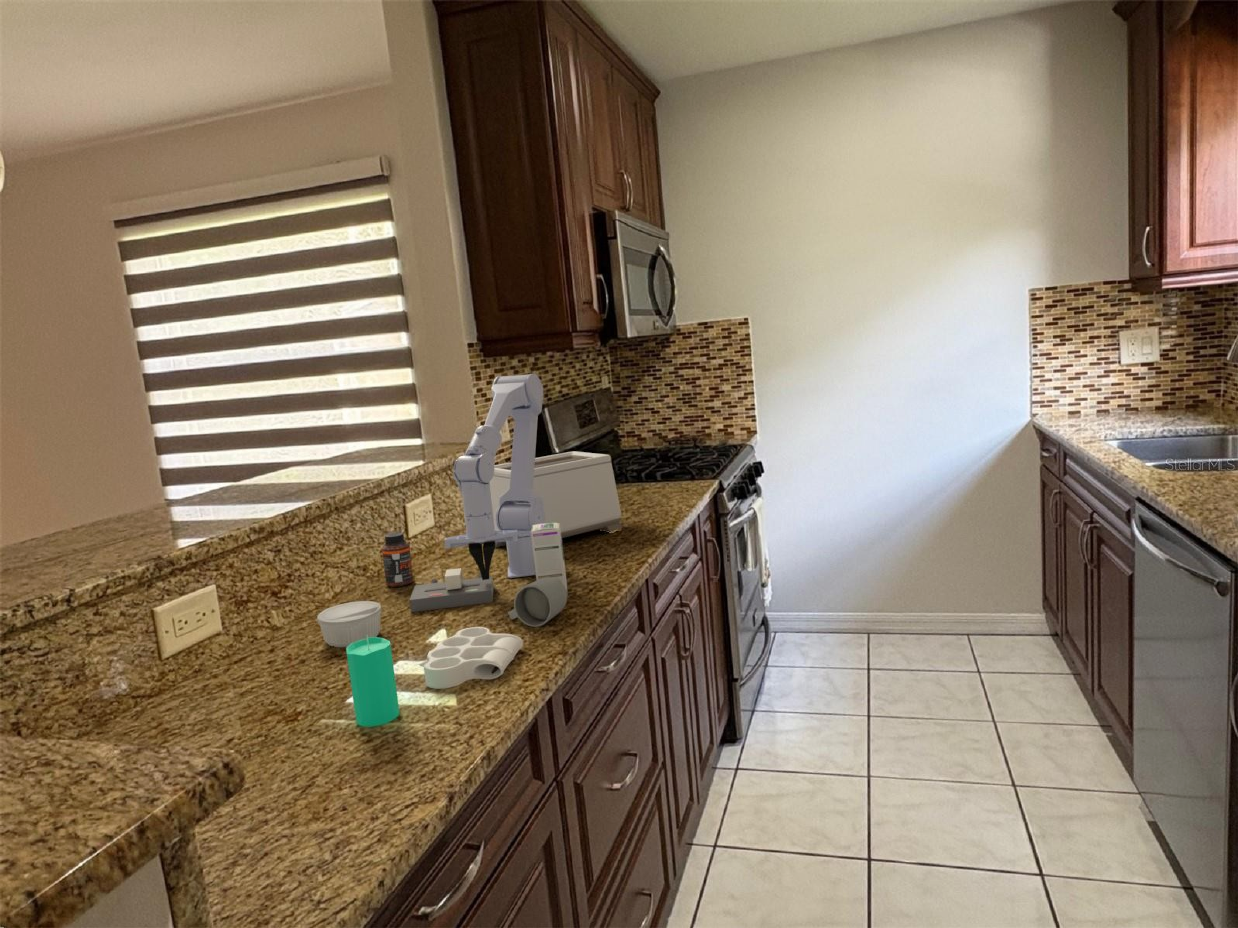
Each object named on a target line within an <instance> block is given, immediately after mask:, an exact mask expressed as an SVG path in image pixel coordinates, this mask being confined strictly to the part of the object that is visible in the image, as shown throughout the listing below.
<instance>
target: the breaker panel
mask: <svg viewBox="0 0 1238 928" xmlns="http://www.w3.org/2000/svg"><path fill="white" fill-rule="evenodd" d="M494 586H495V585H494V578H493V576H490V575H489V579H487V580H482V576H481V573H480V572H479V573H478V574H477V577H475V578H467V579H463V583H462V587H461V588H459V589H450V590H446V584H445V581H441V582H438V579H437V578H432V580H431V582H430V583H423V584H416V585H414V588H413V589H412V593H411V595H410V598H409V607H410V613H415V612H423V611H432V610H438V609H439V610H441V609H448V608H455V607H465V606H472V605H480V604H481V605H482V604H489V603H490V604H491V603H493V601H494V590H495V589H494V588H495V587H494Z"/></svg>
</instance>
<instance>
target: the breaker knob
mask: <svg viewBox="0 0 1238 928" xmlns="http://www.w3.org/2000/svg"><path fill="white" fill-rule="evenodd" d="M463 580H464V579H463V571H462V568H451V569H450V568H449V569H446V570H445V575H444V582H445V584H446V590H450V589H459V588H461V587H462V583H463Z"/></svg>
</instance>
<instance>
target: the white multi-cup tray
mask: <svg viewBox="0 0 1238 928" xmlns="http://www.w3.org/2000/svg"><path fill="white" fill-rule="evenodd" d="M523 647H524V640H523V639H522V638H521V637H520V636H518V635H515V634H510V633H493V632H491V630H490V629H489V628H487V627H485V626H472V627H467V628H462V629H459V630H457V632H456V633H455V634H454V635H452V636H450V637H447V638H444V639H442V640H441V641H438V643H436V647H434V648H433V649H431V650H429V651H428V653H427V656H426V660H424V661H422V662H421V663H420V664H418V665H419V666H421V667H423V671H424V673H423V674H424V681H425V685H426V686H427V687H428V688H430V689H437V690H439V689H440V690H441V689H449V688H453V687H456V686H458V685H461V684H463V683H465V682H467V681H470V680H474V679H475V680H477V679H479V680H480V679H481V680H494V679H497V678H499V677H500V676H502V675H503V674H504V673H505V672H504V671H505V670H506V668H507V667H508V666H509V664H510V663H511V662H512V661H513V660H514V659H515V657H516V654H517V653H519V651H520V650H521V649H522V648H523ZM495 667H497V668H498V669H497V670H496V671H495V672H493V671H494V669H495ZM492 672H493V673H492Z"/></svg>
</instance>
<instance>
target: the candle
mask: <svg viewBox="0 0 1238 928" xmlns="http://www.w3.org/2000/svg"><path fill="white" fill-rule="evenodd" d="M366 636H367V639H363V640H360V641H357V642H354V643H351V644H350V645H349V646H348V647H345V650H346V657H347V666H348V672H349V681H350V685H351V686H350V687H351V693H352V701H353V707H354V715H355V722H356V724H357V725H359V726H361V727H370V728H371V727H377V726H382V725H386V724H387V723H388V724H389V723H390V722H392V721H394V720H396V719H397V718H398V716H400V714H401V713H400V707H399V698H398V691H397V683H396V676H395V667H394V660H393V653H392V645H391V641H390V640H388V639H386V638H383V637H378V636H377V637H370V638H368V635H366Z"/></svg>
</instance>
